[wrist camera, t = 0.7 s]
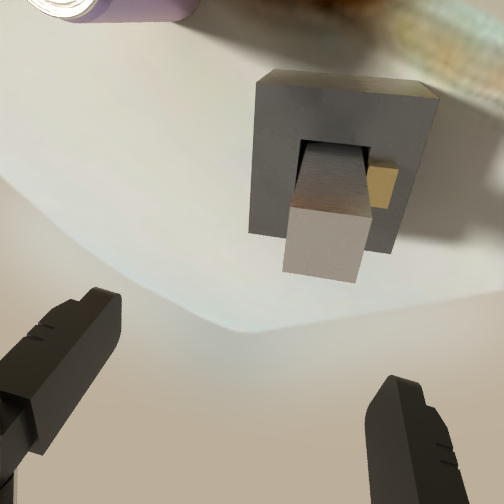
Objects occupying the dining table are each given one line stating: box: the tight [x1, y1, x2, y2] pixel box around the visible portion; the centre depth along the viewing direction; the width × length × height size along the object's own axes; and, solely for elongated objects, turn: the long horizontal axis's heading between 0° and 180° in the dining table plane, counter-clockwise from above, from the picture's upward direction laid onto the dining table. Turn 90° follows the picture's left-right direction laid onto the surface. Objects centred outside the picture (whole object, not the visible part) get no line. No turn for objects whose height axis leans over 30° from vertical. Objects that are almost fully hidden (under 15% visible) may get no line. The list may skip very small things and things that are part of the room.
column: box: [282, 140, 372, 283], centre depth 26 cm, size 4×4×18 cm
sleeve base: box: [248, 69, 440, 254], centre depth 30 cm, size 12×12×9 cm
